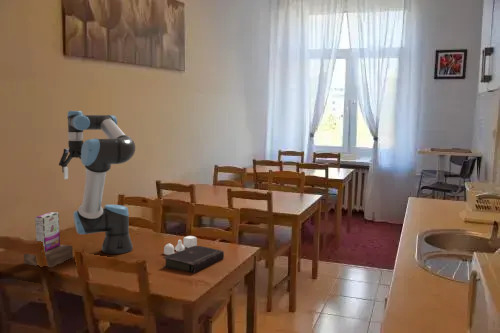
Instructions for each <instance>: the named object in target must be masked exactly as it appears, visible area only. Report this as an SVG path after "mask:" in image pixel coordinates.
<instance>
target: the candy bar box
mask: <svg viewBox="0 0 500 333" xmlns="http://www.w3.org/2000/svg"><path fill="white" fill-rule="evenodd" d="M59 213H60V212H55V211H49V212H47V213H44V214H41V215H37V216H34V222H35V237H36V239H35V241H41V242H43V246H44V251H45V252H46V251H49V250H51V249H53V248H56V247H58V246H60V245H61V235H60V234H61V233H60V217H59V216H60V214H59Z"/></svg>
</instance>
